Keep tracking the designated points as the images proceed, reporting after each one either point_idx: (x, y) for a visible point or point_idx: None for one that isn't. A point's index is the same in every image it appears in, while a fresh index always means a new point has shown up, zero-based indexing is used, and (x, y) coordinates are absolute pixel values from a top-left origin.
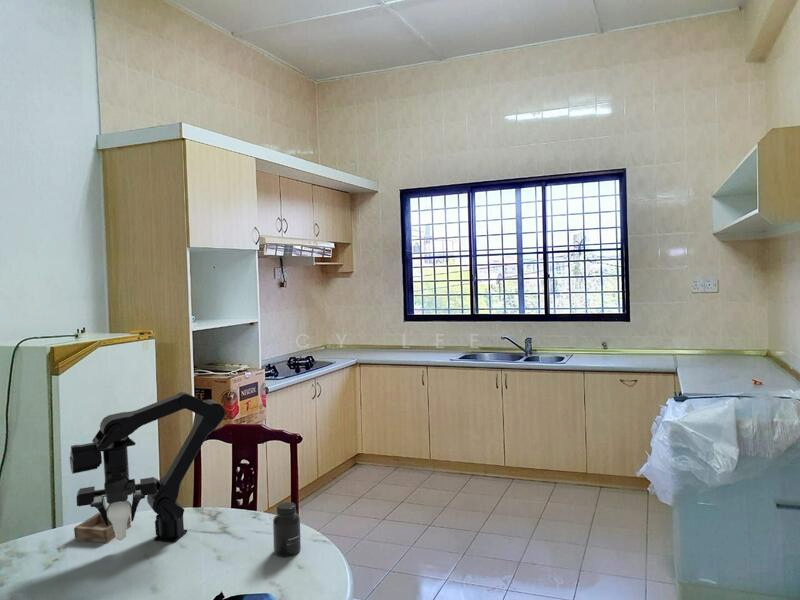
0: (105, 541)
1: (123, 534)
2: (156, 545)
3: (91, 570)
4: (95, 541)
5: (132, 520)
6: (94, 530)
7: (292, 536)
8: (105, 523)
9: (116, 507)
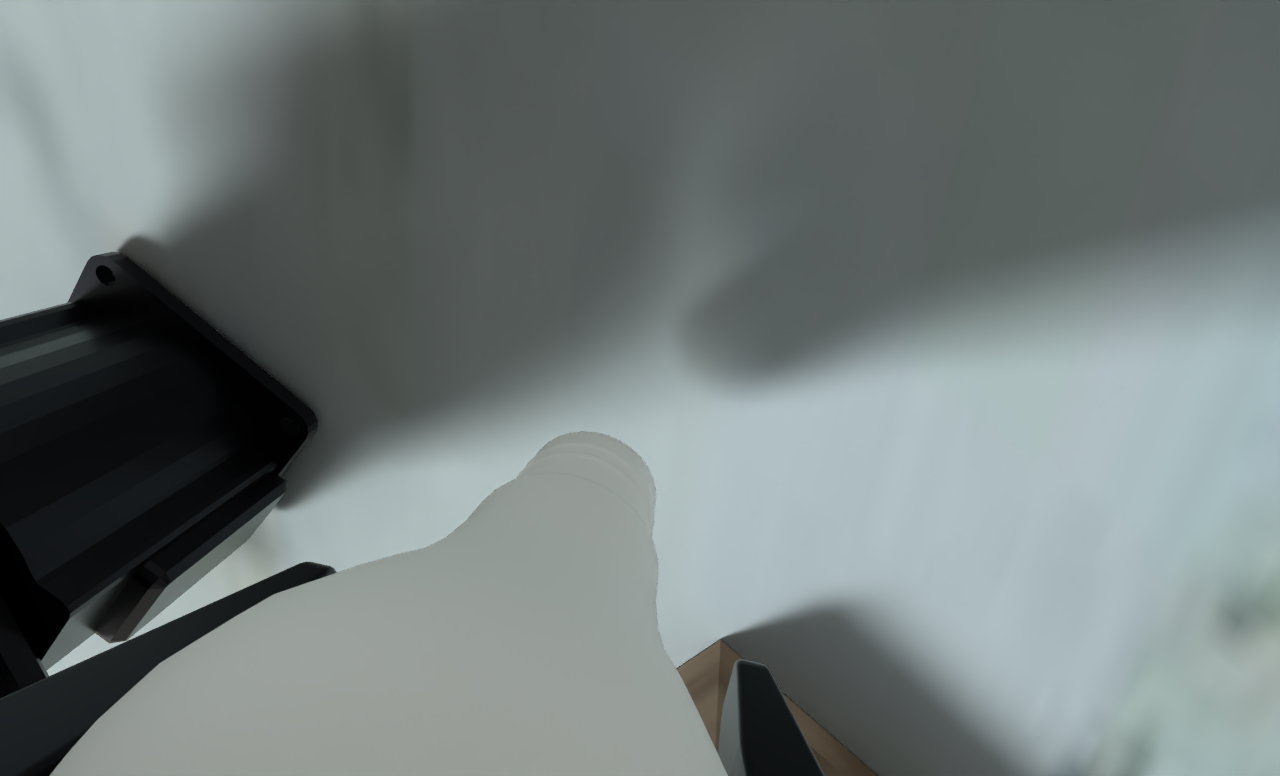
0: (735, 661)
1: (544, 457)
2: (294, 300)
3: (1040, 77)
4: (811, 721)
5: (304, 571)
6: None
7: None
8: (788, 710)
9: None
